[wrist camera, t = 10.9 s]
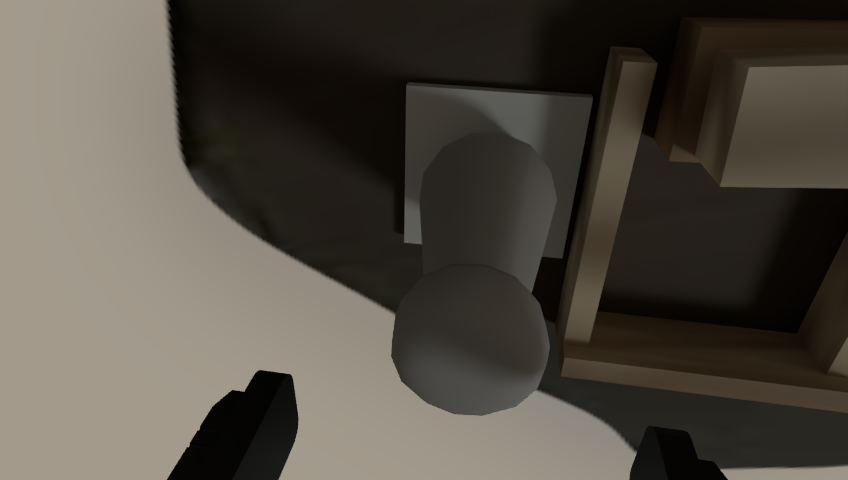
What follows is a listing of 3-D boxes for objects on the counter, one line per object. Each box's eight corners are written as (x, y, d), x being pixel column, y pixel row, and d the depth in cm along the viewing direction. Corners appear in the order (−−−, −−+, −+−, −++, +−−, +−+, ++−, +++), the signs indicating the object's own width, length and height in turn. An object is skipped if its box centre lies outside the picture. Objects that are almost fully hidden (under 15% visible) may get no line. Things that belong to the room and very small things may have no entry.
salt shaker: (562, 219, 25) (597, 444, 14) (448, 241, 27) (398, 459, 16) (538, 100, 23) (557, 262, 11) (412, 133, 24) (322, 302, 13)
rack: (610, 46, 22) (628, 67, 18) (965, 66, 20) (1057, 93, 17) (555, 324, 29) (560, 375, 26) (812, 354, 28) (854, 413, 24)
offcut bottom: (679, 15, 21) (702, 27, 18) (900, 20, 20) (957, 32, 17) (652, 136, 24) (669, 161, 21) (847, 146, 23) (890, 172, 20)
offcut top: (717, 49, 19) (749, 67, 16) (908, 44, 18) (973, 62, 15) (694, 155, 21) (720, 186, 18) (865, 156, 20) (917, 189, 17)
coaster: (408, 82, 24) (406, 85, 23) (591, 94, 23) (593, 98, 22) (406, 236, 28) (404, 242, 27) (561, 252, 27) (562, 258, 26)
